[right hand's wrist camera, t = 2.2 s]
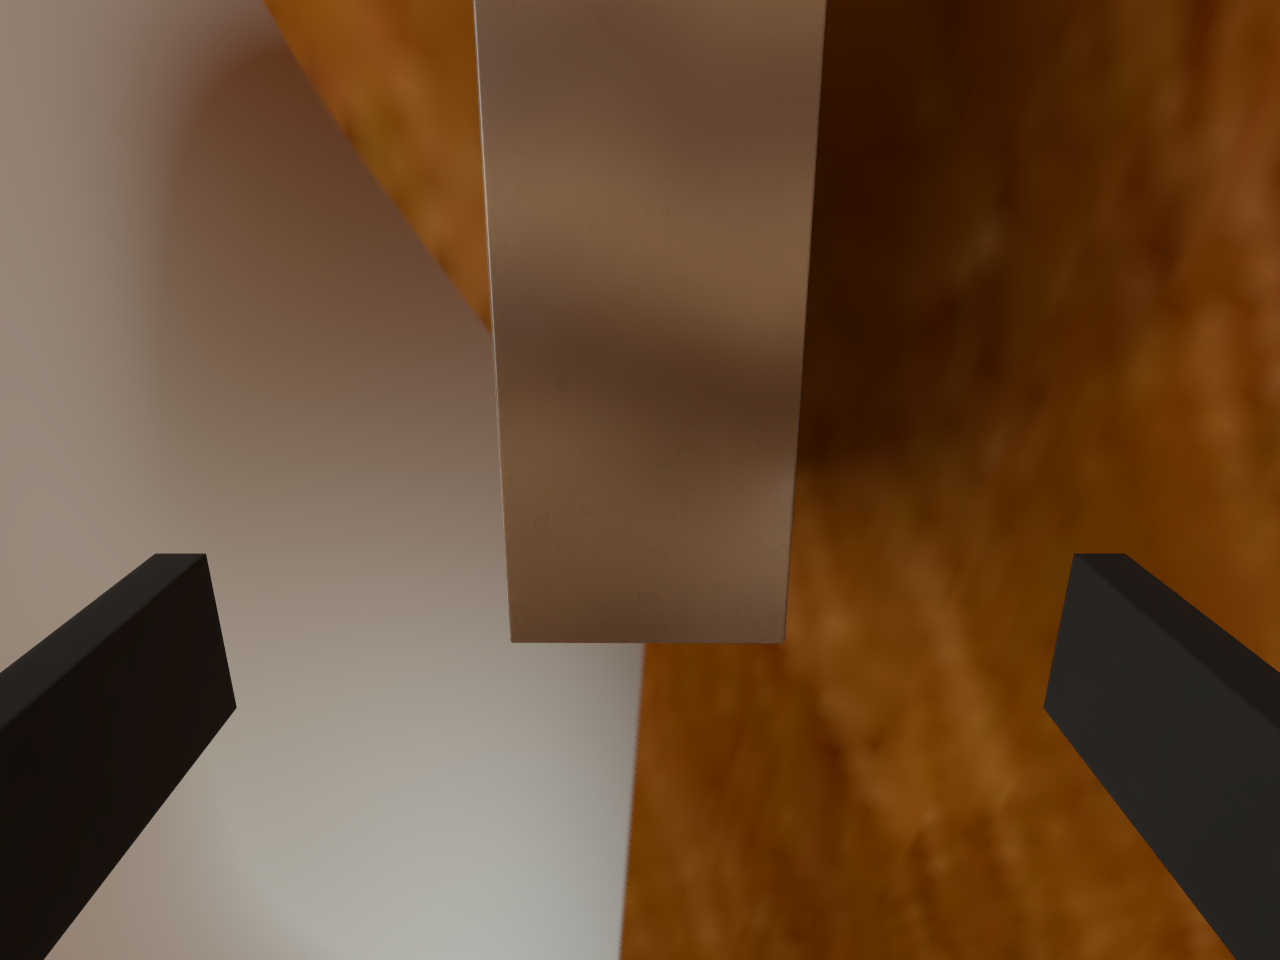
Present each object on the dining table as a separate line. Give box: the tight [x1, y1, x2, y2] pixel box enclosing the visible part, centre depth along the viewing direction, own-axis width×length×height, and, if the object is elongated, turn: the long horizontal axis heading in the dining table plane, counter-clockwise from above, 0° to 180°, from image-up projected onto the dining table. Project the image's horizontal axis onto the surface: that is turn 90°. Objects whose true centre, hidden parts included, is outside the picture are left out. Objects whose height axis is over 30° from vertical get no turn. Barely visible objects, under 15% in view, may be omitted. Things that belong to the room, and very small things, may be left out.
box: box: [472, 0, 827, 643], centre depth 21 cm, size 24×6×12 cm, turn 0°
